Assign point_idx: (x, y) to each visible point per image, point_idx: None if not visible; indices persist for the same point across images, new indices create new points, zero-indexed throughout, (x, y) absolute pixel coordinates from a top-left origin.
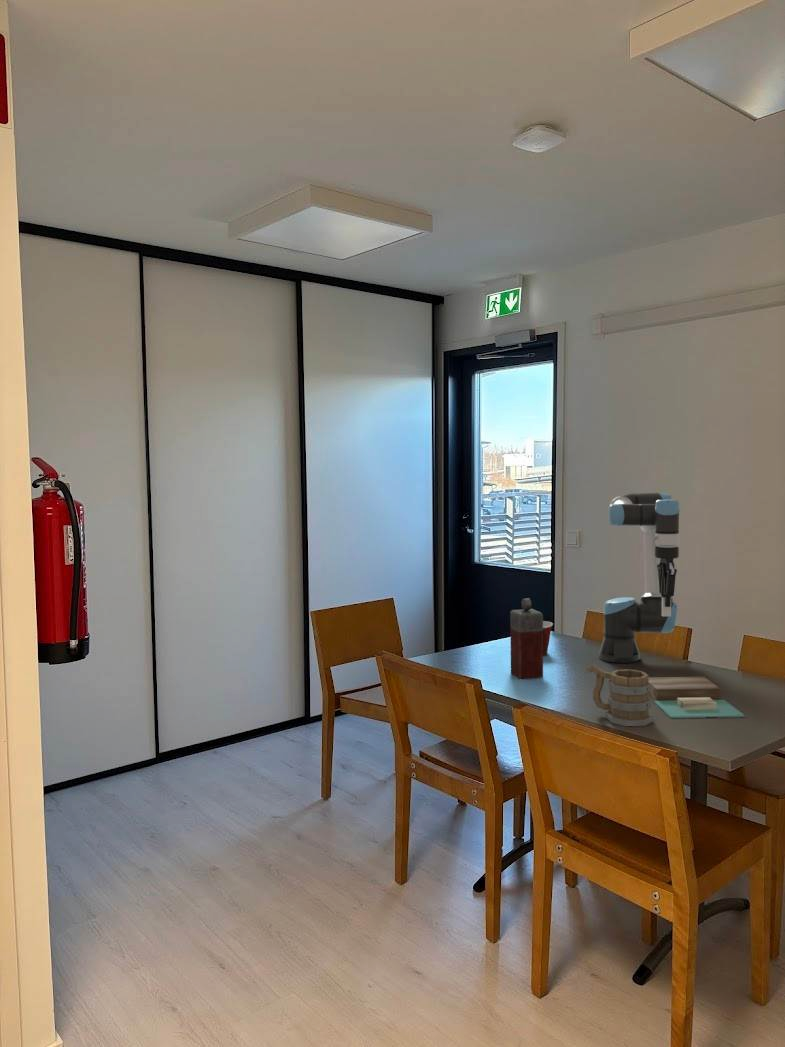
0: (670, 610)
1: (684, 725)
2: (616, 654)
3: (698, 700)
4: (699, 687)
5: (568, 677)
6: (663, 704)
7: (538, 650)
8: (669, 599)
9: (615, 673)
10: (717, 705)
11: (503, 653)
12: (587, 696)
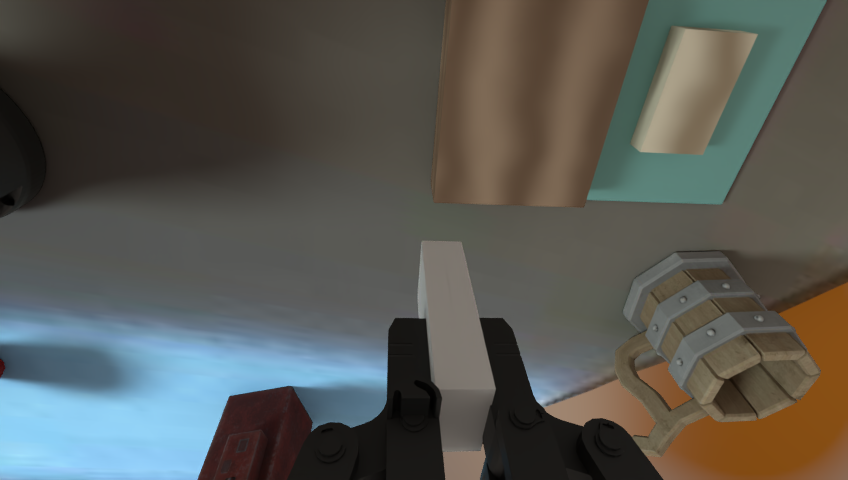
0: (468, 279)
1: (785, 188)
2: (15, 182)
3: (698, 91)
4: (618, 41)
5: (286, 339)
6: (617, 185)
7: (279, 466)
8: (529, 393)
9: (721, 410)
10: (703, 2)
11: (30, 430)
12: None
